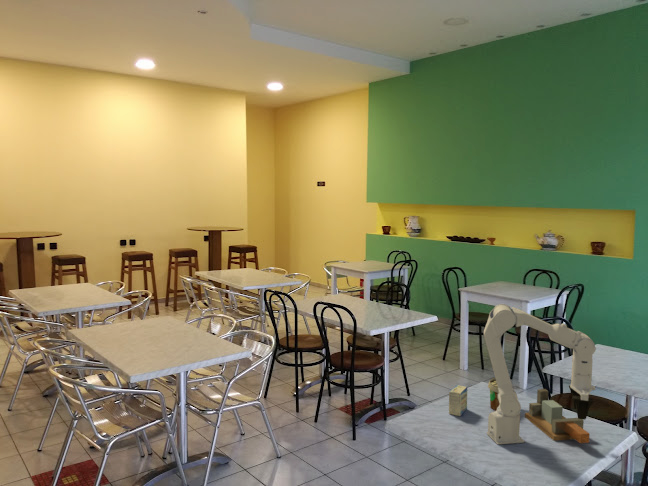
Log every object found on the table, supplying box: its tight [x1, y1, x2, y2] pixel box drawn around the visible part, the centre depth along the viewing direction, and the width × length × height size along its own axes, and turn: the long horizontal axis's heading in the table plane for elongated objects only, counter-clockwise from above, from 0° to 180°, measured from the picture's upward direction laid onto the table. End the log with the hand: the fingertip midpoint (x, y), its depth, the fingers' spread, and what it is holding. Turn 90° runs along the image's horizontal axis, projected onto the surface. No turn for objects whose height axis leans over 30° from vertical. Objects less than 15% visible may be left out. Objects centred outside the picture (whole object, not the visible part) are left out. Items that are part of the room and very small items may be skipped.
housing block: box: [541, 399, 564, 424], centre depth 180 cm, size 4×6×6 cm, turn 8°
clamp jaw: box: [552, 417, 590, 444], centre depth 167 cm, size 10×10×4 cm
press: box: [524, 388, 575, 441], centre depth 178 cm, size 12×18×10 cm, turn 8°
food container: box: [487, 377, 500, 412], centre depth 195 cm, size 12×6×10 cm, turn 145°
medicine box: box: [448, 384, 468, 417], centre depth 191 cm, size 8×4×9 cm, turn 147°
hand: (579, 413), depth 165 cm, fingers open, 7 cm apart
